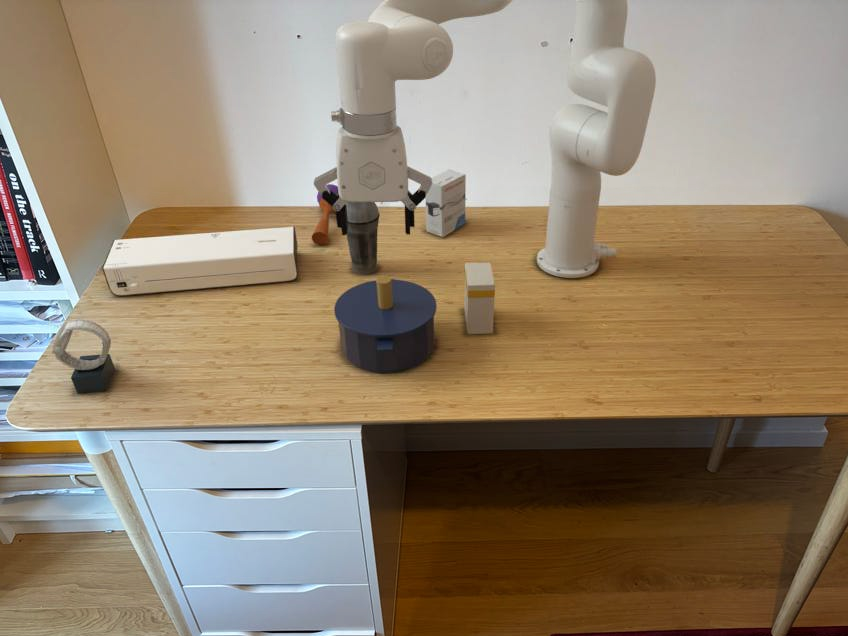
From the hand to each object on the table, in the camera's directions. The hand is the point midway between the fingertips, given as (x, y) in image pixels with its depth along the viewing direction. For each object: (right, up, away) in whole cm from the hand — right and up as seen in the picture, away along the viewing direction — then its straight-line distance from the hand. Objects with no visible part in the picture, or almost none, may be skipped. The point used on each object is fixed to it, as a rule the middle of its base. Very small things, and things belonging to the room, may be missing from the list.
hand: (376, 230), depth 110 cm
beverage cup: (-7, -2, +32) cm, 33 cm away
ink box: (+8, +9, +47) cm, 49 cm away
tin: (0, -17, +12) cm, 21 cm away
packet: (+16, -13, +18) cm, 27 cm away
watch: (-45, -23, +3) cm, 51 cm away
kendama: (-18, +10, +47) cm, 52 cm away
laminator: (-37, -4, +29) cm, 47 cm away
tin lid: (0, -11, +8) cm, 14 cm away
